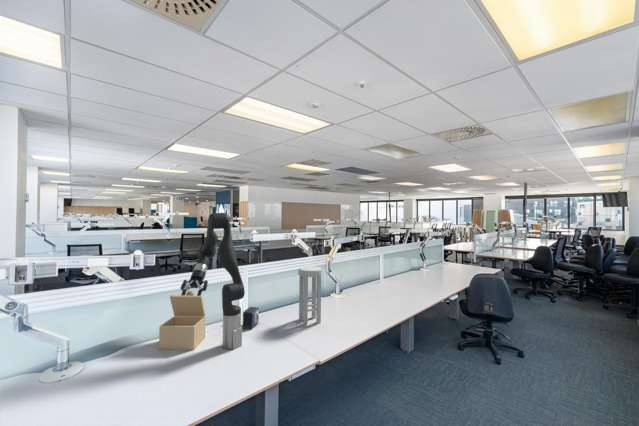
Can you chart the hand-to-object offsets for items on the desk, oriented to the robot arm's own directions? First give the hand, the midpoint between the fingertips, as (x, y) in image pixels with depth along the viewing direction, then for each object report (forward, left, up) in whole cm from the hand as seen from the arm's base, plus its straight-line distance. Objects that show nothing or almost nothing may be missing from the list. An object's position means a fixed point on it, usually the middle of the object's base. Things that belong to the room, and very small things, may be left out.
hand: (190, 296), depth 158 cm
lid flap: (-2, +3, -5) cm, 6 cm away
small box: (-18, -30, -23) cm, 42 cm away
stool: (-45, -57, -23) cm, 76 cm away
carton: (-4, +7, -23) cm, 24 cm away
